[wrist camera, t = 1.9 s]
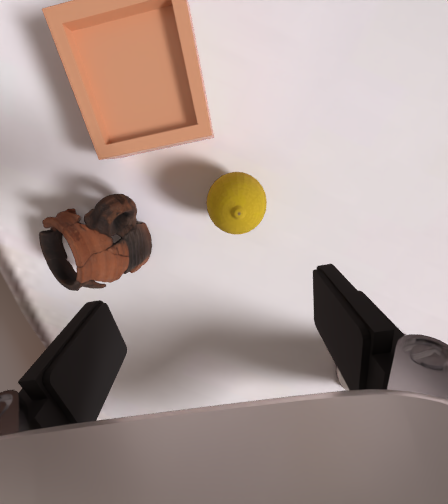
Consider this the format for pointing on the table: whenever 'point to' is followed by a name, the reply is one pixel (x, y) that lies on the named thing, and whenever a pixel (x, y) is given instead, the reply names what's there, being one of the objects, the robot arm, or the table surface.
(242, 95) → the table surface
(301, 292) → the table surface
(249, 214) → the lemon
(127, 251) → the pottery mug
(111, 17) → the orange square tray
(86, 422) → the robot arm
